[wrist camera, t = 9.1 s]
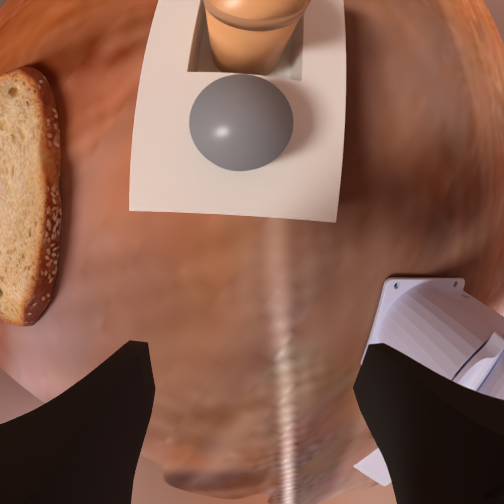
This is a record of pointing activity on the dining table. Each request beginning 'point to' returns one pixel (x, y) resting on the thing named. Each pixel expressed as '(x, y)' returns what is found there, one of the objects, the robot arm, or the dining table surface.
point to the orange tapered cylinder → (251, 32)
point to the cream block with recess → (240, 121)
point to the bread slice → (28, 195)
